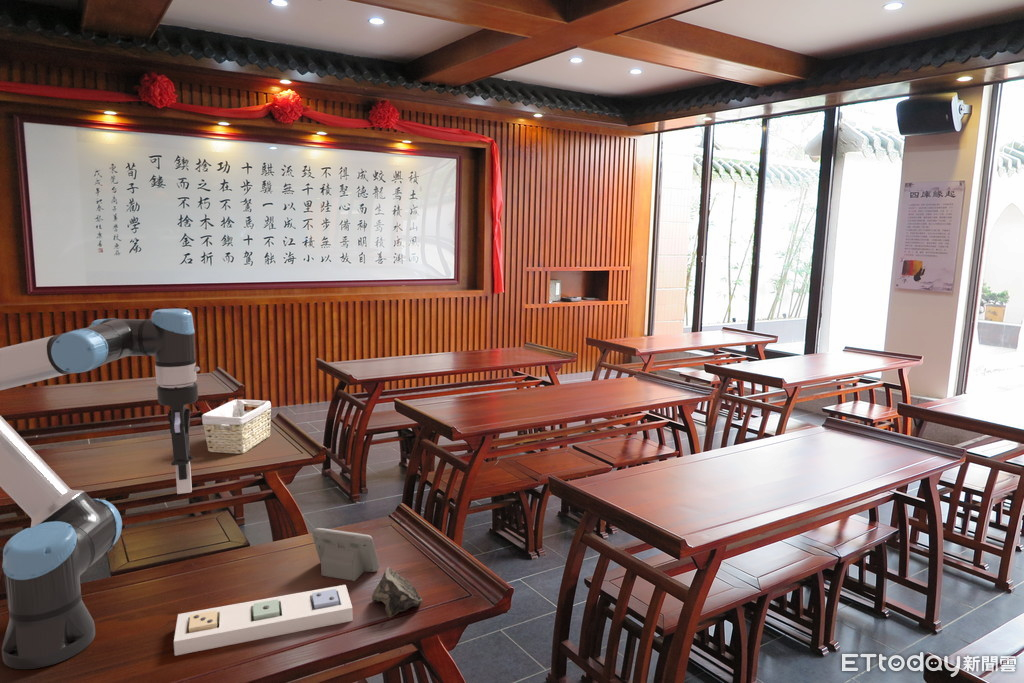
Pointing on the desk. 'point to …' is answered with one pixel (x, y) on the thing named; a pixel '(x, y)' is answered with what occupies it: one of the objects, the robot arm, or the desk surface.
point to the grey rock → (395, 593)
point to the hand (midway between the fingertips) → (184, 491)
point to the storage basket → (237, 426)
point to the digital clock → (345, 553)
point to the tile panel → (261, 621)
